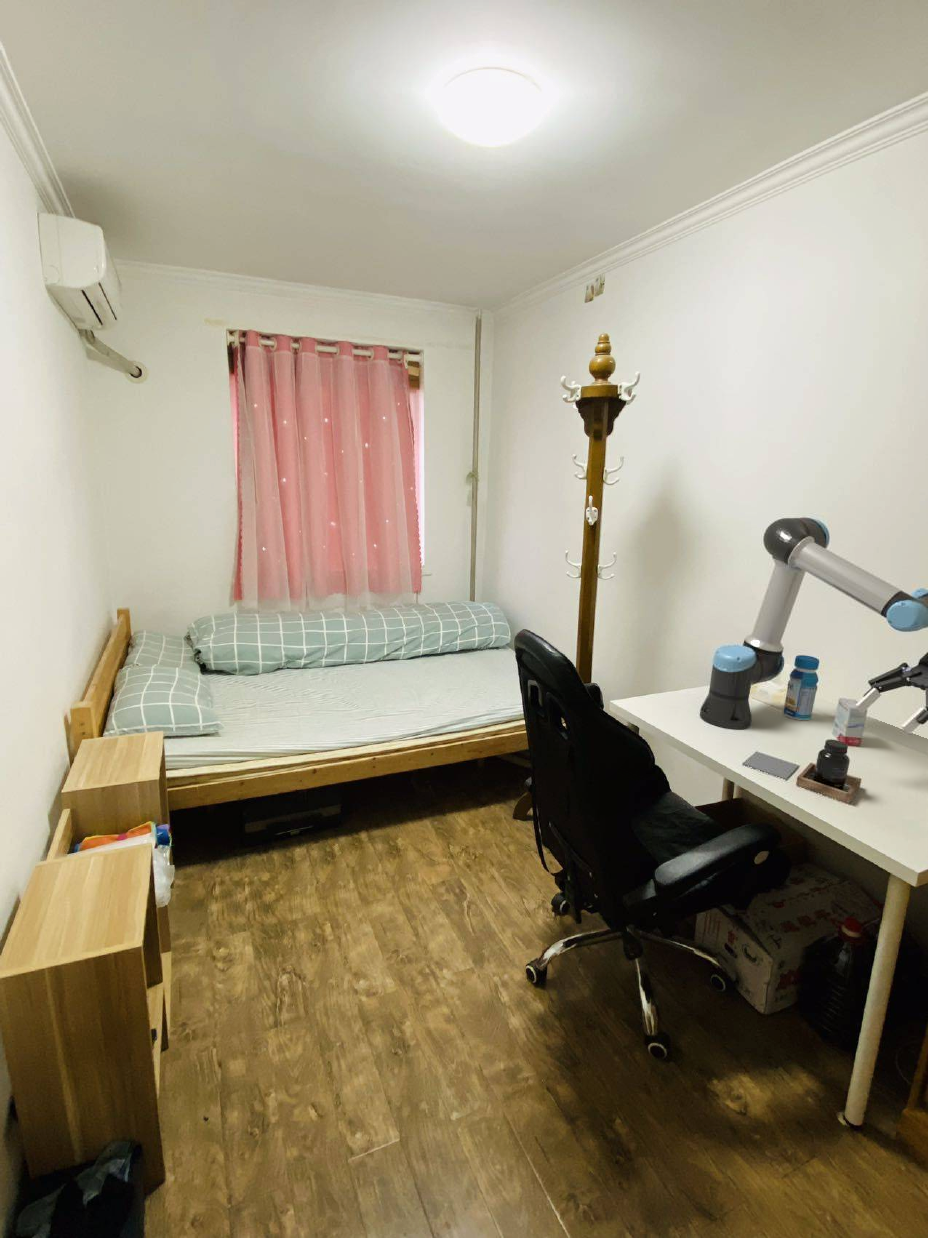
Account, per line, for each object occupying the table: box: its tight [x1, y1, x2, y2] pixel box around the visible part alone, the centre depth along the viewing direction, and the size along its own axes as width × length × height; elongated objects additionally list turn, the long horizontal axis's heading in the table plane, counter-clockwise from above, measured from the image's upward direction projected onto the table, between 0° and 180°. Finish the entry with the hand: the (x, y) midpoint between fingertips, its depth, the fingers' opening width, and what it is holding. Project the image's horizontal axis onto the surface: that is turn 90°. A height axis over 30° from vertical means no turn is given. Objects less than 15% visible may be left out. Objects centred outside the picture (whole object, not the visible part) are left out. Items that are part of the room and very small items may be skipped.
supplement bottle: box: [812, 738, 851, 791], centre depth 151 cm, size 7×7×12 cm
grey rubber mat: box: [741, 751, 800, 781], centre depth 162 cm, size 11×11×1 cm
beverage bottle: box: [782, 654, 820, 721], centre depth 195 cm, size 8×8×20 cm
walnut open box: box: [795, 762, 862, 805], centre depth 152 cm, size 12×12×2 cm
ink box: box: [831, 697, 868, 747], centre depth 179 cm, size 9×5×12 cm, turn 168°
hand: (880, 719), depth 149 cm, fingers open, 13 cm apart
